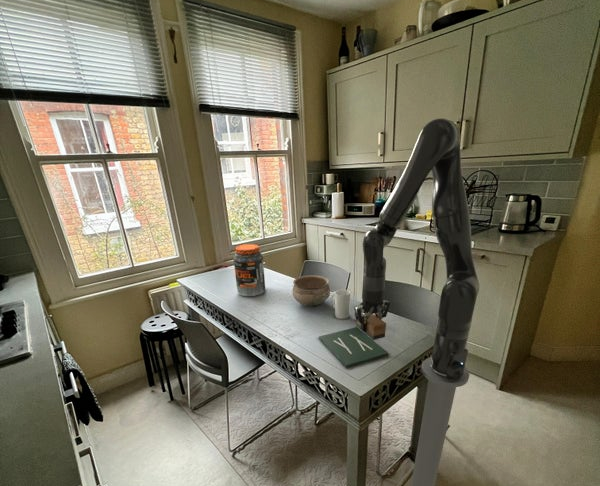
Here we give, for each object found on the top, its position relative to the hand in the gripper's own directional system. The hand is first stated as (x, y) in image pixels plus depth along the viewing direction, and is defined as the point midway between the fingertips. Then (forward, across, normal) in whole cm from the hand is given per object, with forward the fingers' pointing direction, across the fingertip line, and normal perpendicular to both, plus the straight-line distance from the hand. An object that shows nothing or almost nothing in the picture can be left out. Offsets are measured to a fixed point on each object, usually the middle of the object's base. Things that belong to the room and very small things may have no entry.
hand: (370, 329), depth 116 cm
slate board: (+10, -4, +6) cm, 12 cm away
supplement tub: (+10, -25, +79) cm, 83 cm away
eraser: (+1, 0, 0) cm, 1 cm away
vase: (+10, +11, +22) cm, 27 cm away
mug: (+10, +5, +32) cm, 34 cm away
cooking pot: (+10, -2, +49) cm, 50 cm away
